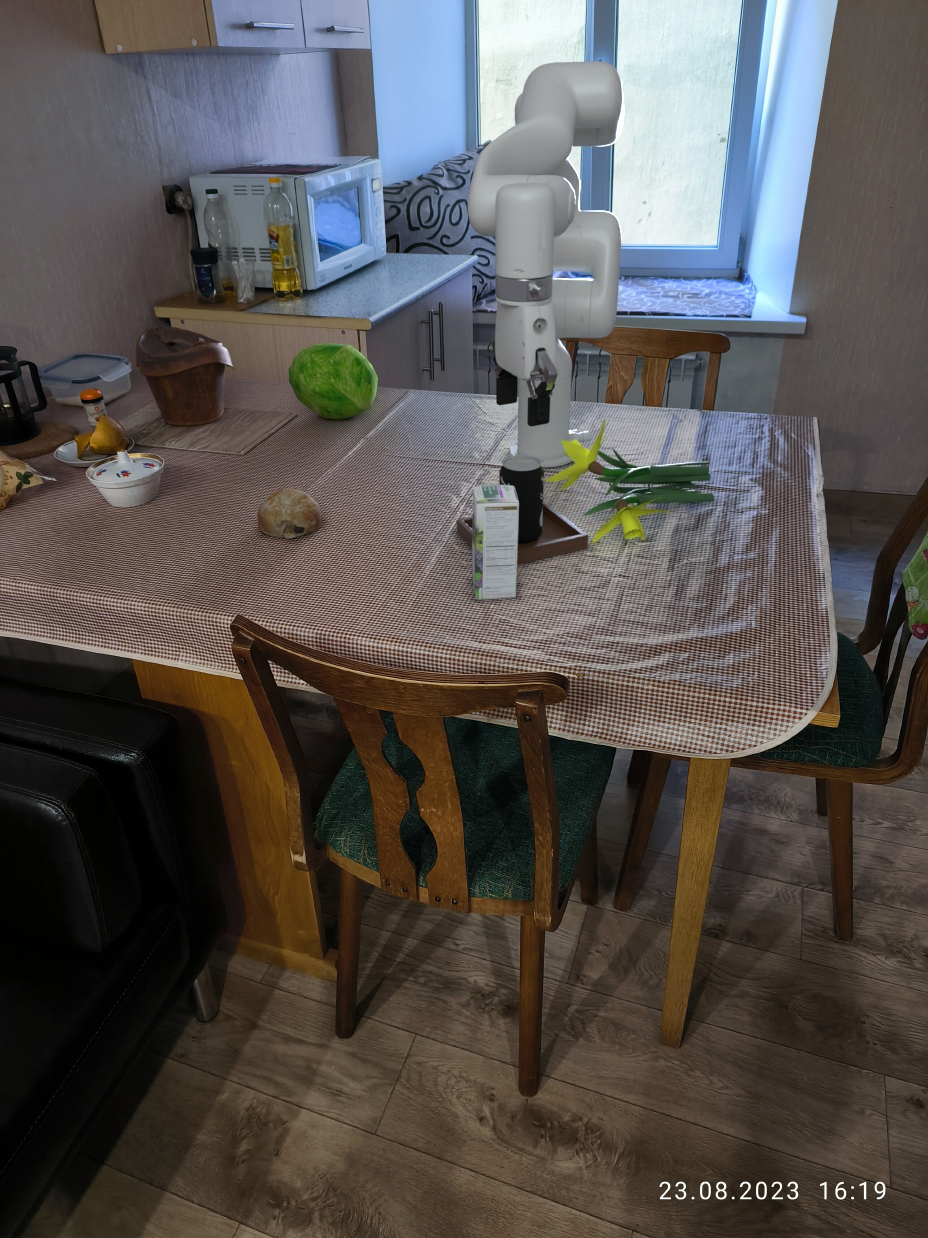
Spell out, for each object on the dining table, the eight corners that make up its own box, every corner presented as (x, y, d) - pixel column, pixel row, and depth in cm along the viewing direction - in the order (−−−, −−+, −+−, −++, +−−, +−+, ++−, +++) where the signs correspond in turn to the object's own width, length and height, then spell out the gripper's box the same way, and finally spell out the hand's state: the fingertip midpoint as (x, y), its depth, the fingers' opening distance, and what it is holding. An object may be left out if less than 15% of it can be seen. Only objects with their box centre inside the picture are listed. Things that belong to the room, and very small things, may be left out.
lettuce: (401, 405, 189) (367, 339, 190) (373, 385, 169) (334, 312, 170) (337, 444, 193) (303, 380, 194) (302, 429, 173) (264, 357, 174)
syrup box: (471, 580, 122) (470, 485, 114) (512, 578, 122) (514, 482, 115) (475, 600, 117) (474, 502, 109) (518, 598, 117) (520, 500, 110)
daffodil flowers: (752, 520, 139) (625, 532, 115) (676, 542, 149) (544, 557, 125) (729, 419, 139) (598, 410, 115) (655, 448, 150) (520, 445, 126)
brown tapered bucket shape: (230, 430, 178) (216, 342, 169) (135, 431, 178) (115, 343, 169) (250, 403, 193) (237, 321, 184) (162, 404, 194) (145, 322, 184)
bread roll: (268, 560, 136) (268, 527, 129) (248, 514, 140) (247, 479, 134) (327, 546, 140) (330, 513, 133) (306, 501, 144) (308, 467, 138)
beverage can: (539, 547, 129) (541, 471, 122) (495, 543, 130) (495, 468, 123) (544, 528, 134) (546, 455, 128) (503, 525, 135) (503, 452, 129)
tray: (544, 514, 140) (544, 501, 139) (587, 548, 130) (588, 534, 128) (456, 533, 135) (456, 519, 134) (494, 570, 124) (494, 556, 123)
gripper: (582, 297, 108) (575, 428, 117) (519, 273, 121) (517, 392, 131) (529, 305, 105) (526, 437, 115) (470, 278, 119) (473, 399, 128)
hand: (522, 413), depth 123 cm, fingers open, 9 cm apart
